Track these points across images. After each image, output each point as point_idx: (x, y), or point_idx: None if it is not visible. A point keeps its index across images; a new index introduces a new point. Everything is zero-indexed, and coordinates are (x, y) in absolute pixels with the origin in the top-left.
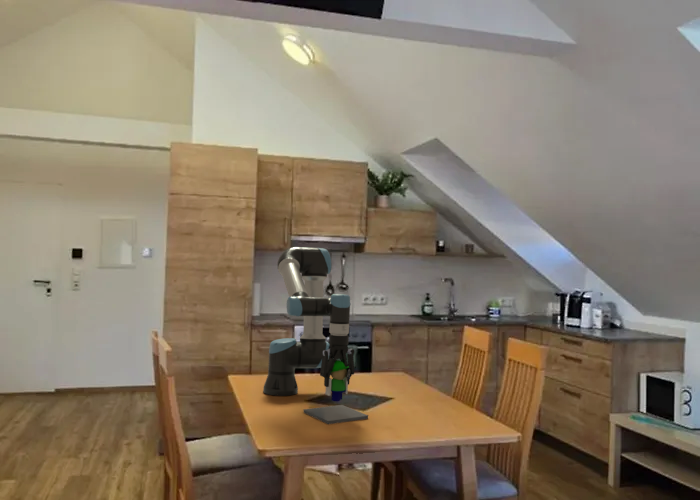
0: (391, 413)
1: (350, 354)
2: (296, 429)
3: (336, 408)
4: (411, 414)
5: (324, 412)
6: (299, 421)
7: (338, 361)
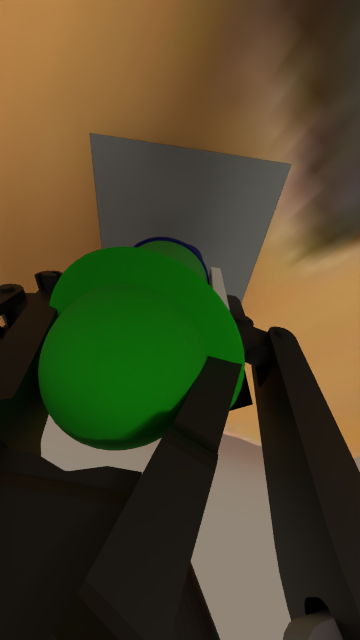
0: (331, 323)
1: (296, 617)
2: (24, 290)
3: (219, 208)
4: (355, 354)
5: (144, 230)
6: (47, 238)
7: (91, 445)
